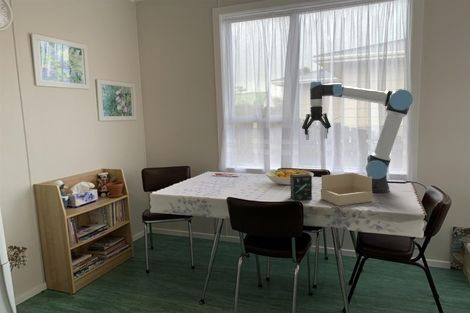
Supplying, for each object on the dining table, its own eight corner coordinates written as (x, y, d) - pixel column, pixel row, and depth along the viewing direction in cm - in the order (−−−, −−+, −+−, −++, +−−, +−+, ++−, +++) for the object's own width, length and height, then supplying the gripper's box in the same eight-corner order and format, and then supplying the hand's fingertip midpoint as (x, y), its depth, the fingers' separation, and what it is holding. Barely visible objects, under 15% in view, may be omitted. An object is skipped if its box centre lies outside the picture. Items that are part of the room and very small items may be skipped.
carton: (352, 195, 206) (352, 172, 205) (372, 201, 190) (372, 177, 188) (320, 198, 200) (320, 175, 198) (338, 206, 183) (338, 181, 181)
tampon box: (307, 196, 208) (307, 172, 206) (312, 199, 199) (312, 175, 197) (290, 197, 206) (289, 173, 205) (294, 200, 197) (294, 176, 196)
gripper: (329, 105, 221) (329, 137, 223) (296, 106, 212) (296, 140, 215) (336, 105, 213) (336, 138, 216) (302, 106, 205) (302, 140, 208)
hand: (316, 139), depth 216 cm, fingers open, 13 cm apart
